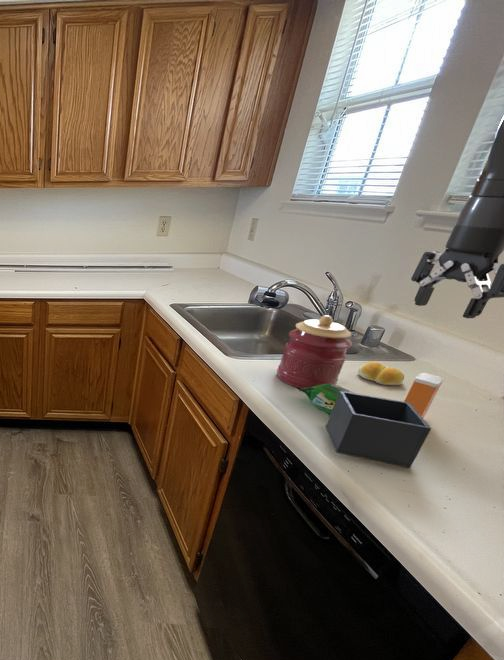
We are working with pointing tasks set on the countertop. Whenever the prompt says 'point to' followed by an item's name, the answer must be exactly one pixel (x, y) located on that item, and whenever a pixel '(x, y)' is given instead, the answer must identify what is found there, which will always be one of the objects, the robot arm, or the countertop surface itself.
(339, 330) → the kitchen canister
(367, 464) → the countertop surface
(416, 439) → the storage bin
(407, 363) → the countertop surface
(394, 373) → the bread roll
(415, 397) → the drink carton
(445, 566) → the countertop surface
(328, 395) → the snack package
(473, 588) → the countertop surface
